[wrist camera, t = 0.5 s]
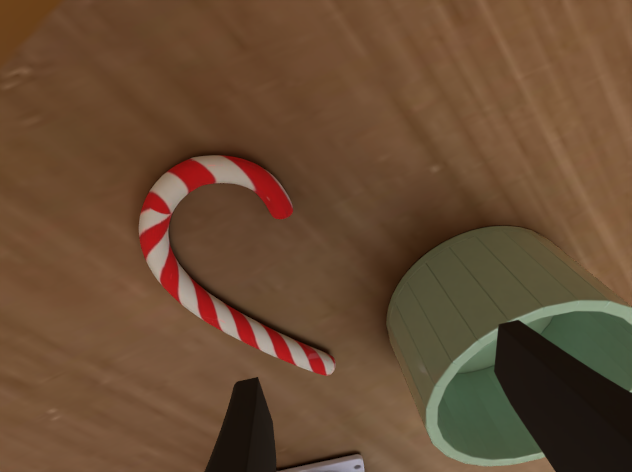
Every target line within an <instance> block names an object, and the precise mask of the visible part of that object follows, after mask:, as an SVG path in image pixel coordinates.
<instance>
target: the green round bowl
mask: <svg viewBox="0 0 632 472" xmlns="http://www.w3.org/2000/svg"><path fill="white" fill-rule="evenodd" d="M515 320H519V321H521V322H522V323H524V324H525V325H527V326H528V327H530V328H531V329H533V330H534V331H536V332H537V333H539V334H540V335H542V336H543V337H544V338H546V339H547V340H549V341H550V342H552V343H553V344H555V345H556V346H558V347H559V348H561V349H562V350H564V351H565V352H567V353H568V354H570V355H571V356H573V357H574V358H576V359H577V360H579V361H580V362H582V363H584V364H585V365H587V366H588V367H590V368H591V369H593V370H594V371H596V372H598V373H599V374H601V375H603V376H604V377H606V378H607V379H609V380H611V381H612V382H614V383H616V384H617V385H619V386H621V387H623V388H624V389H626V390H628V391H629V392H631V393H632V306H630V305H629V304H628V303H627V302H625V301H624V300H623V299H622V298H620V297H619V296H618V295H617V294H615V293H614V292H613V291H612V290H611V289H609V288H608V287H607V286H606V285H604V284H603V283H602V282H601V281H599V280H598V279H597V278H596V277H594V276H593V275H592V274H591V273H589V272H588V271H587V270H586V269H584V268H583V267H582V266H581V265H579V264H578V263H577V262H576V261H574V260H573V259H572V258H571V257H570V256H568V255H567V254H566V253H565V252H563V251H562V250H561V249H560V248H558V247H557V246H556V245H555V244H553V243H552V242H551V241H550V240H548V239H546V238H545V237H544V236H542V235H541V234H538V233H536V232H534V231H532V230H528V229H525V228H521V227H513V226H492V227H484V228H480V229H476V230H472V231H468V232H466V233H463V234H460V235H457V236H455V237H453V238H451V239H449V240H447V241H445V242H443V243H441V244H440V245H438V246H436V247H435V248H433V249H432V250H430V251H429V252H428V253H427V254H425V255H424V256H423V257H421V258H420V259H419V260H418V261H417V262H416V263H415V264H414V265H413V266H412V267H411V268H410V269H409V270H408V272H407V273H406V274H405V275H404V276H403V278H402V279H401V281H400V282H399V284H398V285H397V287H396V289H395V291H394V293H393V295H392V298H391V300H390V303H389V306H388V312H387V322H386V326H387V333H388V336H389V339H390V343H391V345H392V348H393V350H394V353H395V355H396V358H397V360H398V362H399V365H400V367H401V370H402V372H403V375H404V377H405V379H406V382H407V384H408V387H409V389H410V392H411V394H412V397H413V399H414V401H415V404H416V406H417V409H418V411H419V414H420V416H421V418H422V421H423V423H424V426H425V428H426V430H427V433H428V435H429V437H430V439H431V442H432V443H433V445H434V446H436V447H437V448H438V449H439V450H440V451H441V452H442V453H444V454H445V455H446V456H447V457H450V458H452V459H455V460H457V461H460V462H462V463H466V464H472V465H480V466H503V465H514V464H519V463H523V462H528V461H532V460H537V459H540V458H543V457H546V456H545V455H544V454H543V452H542V451H541V449H540V448H539V446H538V445H537V443H536V442H535V440H534V439H533V437H532V436H531V434H530V433H529V431H528V430H527V428H526V427H525V425H524V424H523V422H522V421H521V419H520V418H519V416H518V415H517V413H516V412H515V410H514V409H513V407H512V406H511V404H510V402H509V400H508V398H507V397H506V395H505V393H504V391H503V389H502V387H501V385H500V383H499V381H498V379H497V377H496V375H495V373H494V366H495V356H496V345H497V335H498V325H499V324H502V323H506V322H511V321H515Z"/></svg>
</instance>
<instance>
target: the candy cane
mask: <svg viewBox="0 0 632 472" xmlns="http://www.w3.org/2000/svg"><path fill="white" fill-rule="evenodd" d="M214 183H232V184H238V185H241V186H244V187H247V188H249V189H251V190H252V191H254V192H255V193H256V194H257V195H258V196H259V197H260V198H261V199H262V200H263V202H264V203H265V204H266V206H267V208H268V210H269V212H270V213H271V215H272V216H273V217H274V218H276V219H284V218H287V217H289V216H290V215H291V214H292V212H293V206H292V203H291V200H290V198H289V196H288V194H287V193H286V191H285V190H284V188H283V187H282V185H281V184H280V183H279V181H278V180H277V179H276V178H275V177H274V176H273V175H272V174H270V173H269V172H268V171H267V170H265V169H264V168H262V167H261V166H259V165H257V164H255V163H253V162H250V161H247V160H245V159H241V158H237V157H232V156H224V155H210V156H199V157H193V158H190V159H188V160H186V161H184V162H181V163H179V164H177V165H176V166H174V167H173V168H171V169H170V170H168V171H167V172H166V173H165V174H164V175H163V176H161V178H160V179H159V180H158V181H157V182H156V183H155V184H154V186H153V187H152V188H151V190H150V191H149V193H148V195H147V197H146V199H145V201H144V204H143V207H142V210H141V214H140V219H139V239H140V244H141V248H142V251H143V254H144V257H145V259H146V261H147V263H148V266H149V268H150V269H151V271H152V272H153V274H154V275H155V277H156V278H157V280H158V281H159V282H160V283H161V285H162V286H163V287H164V288H165V289H166V290H167V291H168V292H169V293H170V294H171V295H172V296H173V297H174V298H175V299H176V300H177V301H178V302H179V303H181V304H182V305H183V306H184V307H185V308H187V309H188V310H189V311H191V312H192V313H193V314H195V315H196V316H198V317H199V318H201V319H202V320H204V321H206V322H207V323H209V324H211V325H212V326H214V327H216V328H218V329H219V330H221V331H223V332H225V333H227V334H229V335H231V336H233V337H235V338H237V339H238V340H240V341H242V342H245V343H247V344H249V345H251V346H253V347H255V348H257V349H259V350H261V351H263V352H265V353H268V354H270V355H272V356H274V357H277V358H279V359H281V360H284V361H286V362H289V363H291V364H294V365H296V366H299V367H301V368H304V369H307V370H309V371H312V372H315V373H318V374H321V375H330V374H332V372H333V371H334V369H335V365H336V362H335V359H334V358H333V357H332V356H331V355H329V354H327V353H325V352H322V351H320V350H318V349H315V348H313V347H310V346H308V345H305V344H303V343H301V342H298V341H296V340H294V339H292V338H289V337H287V336H285V335H283V334H281V333H279V332H277V331H275V330H273V329H271V328H269V327H267V326H265V325H263V324H261V323H259V322H257V321H255V320H253V319H251V318H249V317H248V316H246V315H244V314H242V313H240V312H239V311H237V310H235V309H233V308H232V307H230V306H228V305H227V304H225V303H223V302H222V301H220V300H219V299H217V298H216V297H214V296H213V295H211V294H210V293H208V292H207V291H206V290H204V289H203V288H202V287H201V286H200V285H198V284H197V283H196V282H195V281H194V280H193V279H192V278H191V277H190V276H189V275H188V274H187V273H186V272H185V271H184V269H183V268H182V267H181V266H180V264H179V263H178V261H177V260H176V258H175V256H174V254H173V252H172V249H171V246H170V242H169V235H168V229H169V223H170V219H171V216H172V213H173V211H174V209H175V208H176V206H177V205H178V203H179V202H180V201H181V200H182V199H183V198H184V197H185V196H186V195H187V194H189V193H190V192H191V191H193V190H194V189H196V188H198V187H200V186H202V185H207V184H214Z"/></svg>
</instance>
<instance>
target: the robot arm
mask: <svg viewBox="0 0 632 472" xmlns="http://www.w3.org/2000/svg"><path fill="white" fill-rule="evenodd" d="M494 373H495V375H496V377H497V379H498V381H499V383H500V385H501V387H502V389H503V391H504V393H505V395H506V397H507V398H508V400H509V402H510V404H511V406H512V407H513V409H514V410H515V412H516V413H517V415H518V416H519V418H520V419H521V421H522V422H523V424H524V425H525V427H526V428H527V430H528V431H529V433H530V434H531V436H532V437H533V439H534V440H535V442H536V443H537V445H538V446H539V448H540V449H541V451H542V452H543V454H544V455H545V456H546V458H547V459H548V461H549V462H550V464H551V465H552V467H553V468H554V470H555V471H556V472H632V393H631V392H629V391H628V390H626V389H624V388H623V387H621V386H619V385H617V384H616V383H614V382H612V381H611V380H609V379H607V378H606V377H604V376H603V375H601V374H599V373H598V372H596V371H594V370H593V369H591V368H590V367H588V366H587V365H585V364H584V363H582V362H580V361H579V360H577V359H576V358H574V357H573V356H571V355H570V354H568V353H567V352H565V351H564V350H562V349H561V348H559V347H558V346H556V345H555V344H553V343H552V342H550V341H549V340H547V339H546V338H544V337H543V336H542V335H540V334H539V333H537V332H536V331H534V330H533V329H531V328H530V327H528V326H527V325H525V324H524V323H522V322H521V321H519V320H515V321H511V322H506V323H502V324H499V325H498V335H497V345H496V356H495V366H494ZM205 472H365V471H364V463H363V458H362V456H361V455H358V454H356V455H351V456H346V457H341V458H337V459H332V460H327V461H323V462H318V463H313V464H309V465H304V466H299V467H295V468H290V469H285V470H281V471H276V450H275V439H274V430H273V421H272V418H271V415H270V412H269V409H268V406H267V403H266V400H265V397H264V394H263V391H262V388H261V385H260V382H259V379H258V377H256V378H252V379H247V380H243V381H238V382H236V384H235V385H234V388H233V392H232V396H231V399H230V403H229V406H228V409H227V412H226V416H225V419H224V422H223V425H222V428H221V430H220V433H219V436H218V439H217V441H216V444H215V447H214V449H213V452H212V455H211V457H210V460H209V462H208V465H207V467H206V469H205Z"/></svg>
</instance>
